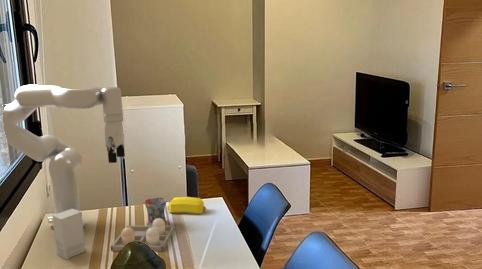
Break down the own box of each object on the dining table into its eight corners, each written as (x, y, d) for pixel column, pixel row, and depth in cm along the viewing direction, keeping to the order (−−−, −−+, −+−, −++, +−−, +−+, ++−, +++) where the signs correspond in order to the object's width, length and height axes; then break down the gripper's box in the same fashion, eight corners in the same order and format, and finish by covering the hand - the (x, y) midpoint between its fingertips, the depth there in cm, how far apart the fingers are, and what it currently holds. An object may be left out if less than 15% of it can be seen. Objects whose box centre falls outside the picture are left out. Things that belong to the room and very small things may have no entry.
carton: (111, 252, 168) (110, 246, 168) (127, 230, 187) (127, 225, 187) (163, 252, 167) (163, 246, 167) (174, 230, 186) (174, 225, 186)
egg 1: (120, 247, 171) (119, 230, 170) (124, 242, 176) (123, 225, 174) (133, 247, 170) (131, 230, 169) (137, 242, 175) (135, 225, 174)
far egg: (145, 247, 170) (143, 230, 169) (148, 242, 175) (147, 225, 173) (157, 247, 170) (156, 230, 168) (161, 242, 174) (159, 225, 173)
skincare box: (77, 247, 174) (72, 207, 171) (86, 251, 169) (82, 211, 166) (56, 255, 167) (51, 214, 164) (65, 260, 163) (61, 218, 160)
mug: (164, 230, 187) (162, 205, 185) (142, 229, 189) (140, 204, 187) (172, 219, 199) (171, 195, 197) (152, 218, 200) (150, 195, 198)
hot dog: (204, 216, 202) (208, 209, 209) (203, 201, 201) (207, 195, 208) (164, 214, 205) (170, 208, 212) (163, 200, 204) (169, 194, 211)
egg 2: (151, 237, 179) (150, 220, 178) (154, 232, 184) (153, 216, 183) (163, 237, 179) (162, 220, 178) (166, 232, 184) (165, 216, 182)
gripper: (111, 115, 194) (115, 154, 197) (96, 121, 177) (100, 165, 180) (129, 114, 193) (132, 154, 197) (115, 121, 177) (118, 164, 180)
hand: (116, 159), depth 189 cm, fingers open, 9 cm apart
